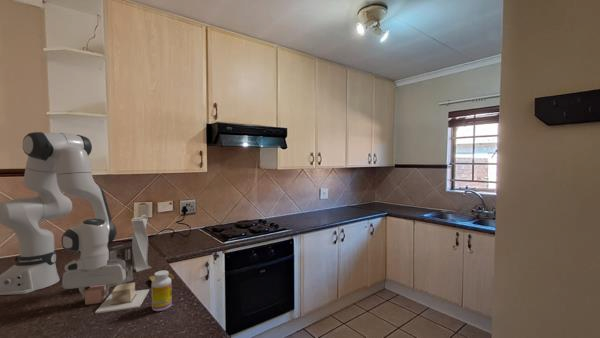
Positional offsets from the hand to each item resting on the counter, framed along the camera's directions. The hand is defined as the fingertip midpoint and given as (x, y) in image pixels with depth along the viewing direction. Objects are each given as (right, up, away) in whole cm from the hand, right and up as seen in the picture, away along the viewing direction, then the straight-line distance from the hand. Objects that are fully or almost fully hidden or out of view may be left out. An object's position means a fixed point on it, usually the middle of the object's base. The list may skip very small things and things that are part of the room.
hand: (95, 296), depth 106 cm
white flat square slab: (+12, -2, -1) cm, 12 cm away
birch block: (+12, -1, -1) cm, 12 cm away
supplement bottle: (+29, -2, -5) cm, 29 cm away
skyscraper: (-1, -2, +32) cm, 32 cm away
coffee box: (-2, -2, +16) cm, 16 cm away
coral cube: (0, -2, 0) cm, 2 cm away
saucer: (+17, -2, +17) cm, 24 cm away
